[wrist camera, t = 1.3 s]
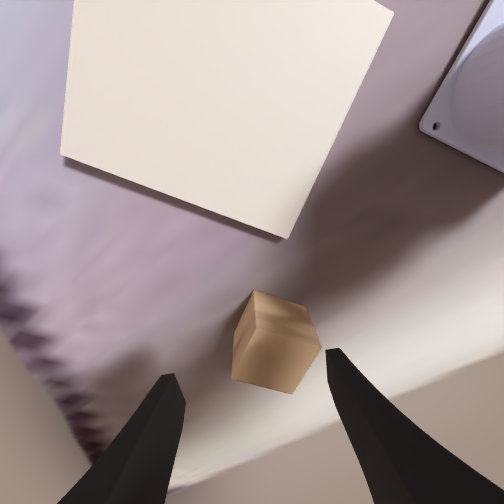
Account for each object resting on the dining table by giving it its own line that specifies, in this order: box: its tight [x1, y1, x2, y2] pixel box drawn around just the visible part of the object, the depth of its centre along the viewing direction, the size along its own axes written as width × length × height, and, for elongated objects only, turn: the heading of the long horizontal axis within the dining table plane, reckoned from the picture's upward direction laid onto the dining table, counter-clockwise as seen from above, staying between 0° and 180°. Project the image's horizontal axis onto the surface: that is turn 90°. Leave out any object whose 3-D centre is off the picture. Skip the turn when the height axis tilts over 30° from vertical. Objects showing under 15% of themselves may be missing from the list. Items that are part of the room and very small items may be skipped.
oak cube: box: [231, 290, 322, 394], centre depth 20 cm, size 5×5×5 cm
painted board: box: [60, 0, 394, 239], centre depth 15 cm, size 16×14×1 cm
